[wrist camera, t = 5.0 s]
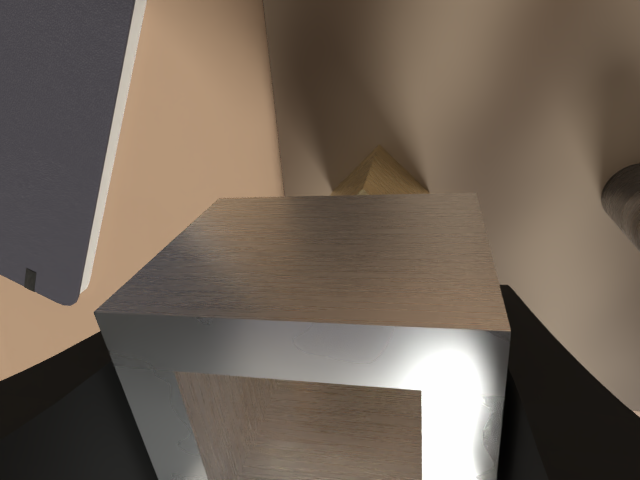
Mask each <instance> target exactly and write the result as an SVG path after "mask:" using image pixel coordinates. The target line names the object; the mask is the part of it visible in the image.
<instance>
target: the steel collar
mask: <svg viewBox="0 0 640 480" xmlns="http://www.w3.org/2000/svg"><path fill="white" fill-rule="evenodd" d="M94 315H95V317H96V320H97V323H98V325H99V328H100V330H101V333H102V335H103V338H104V341H105V343H106V346H107V348H108V351H109V354H110V356H111V359H112V361H113V364H114V366H115V369H116V372H117V374H118V377H119V379H120V382H121V384H122V387H123V390H124V392H125V395H126V397H127V400H128V403H129V405H130V408H131V410H132V413H133V415H134V418H135V421H136V423H137V426H138V428H139V431H140V433H141V436H142V439H143V441H144V444H145V446H146V449H147V452H148V454H149V457H150V459H151V462H152V464H153V467H154V470H155V472H156V475H157V477H158V480H496V478H497V468H498V458H499V448H500V438H501V428H502V418H503V408H504V398H505V388H506V378H507V368H508V358H509V348H510V338H511V329H510V325H509V321H508V317H507V313H506V309H505V305H504V301H503V297H502V293H501V289H500V285H499V281H498V277H497V273H496V269H495V266H494V262H493V258H492V254H491V250H490V246H489V242H488V238H487V234H486V230H485V226H484V222H483V218H482V214H481V210H480V206H479V202H478V198H477V194H476V193H433V194H387V195H340V196H294V197H248V198H219V199H218V200H217V201H216V202H214V203H213V204H212V205H211V206H210V207H209V208H208V209H207V210H206V211H205V212H203V213H202V214H201V215H200V216H199V217H198V218H197V219H196V220H195V221H194V222H192V223H191V224H190V225H189V226H188V227H187V228H186V229H185V230H184V231H183V232H181V233H180V234H179V235H178V236H177V237H176V238H175V239H174V240H173V241H172V242H170V243H169V244H168V245H167V246H166V247H165V248H164V249H163V250H162V251H161V252H159V253H158V254H157V255H156V256H155V257H154V258H153V259H152V260H151V261H150V262H148V263H147V264H146V265H145V266H144V267H143V268H142V269H141V270H140V271H139V272H137V273H136V274H135V275H134V276H133V277H132V278H131V279H130V280H129V281H128V282H126V283H125V284H124V285H123V286H122V287H121V288H120V289H119V290H118V291H117V292H115V293H114V294H113V295H112V296H111V297H110V298H109V299H108V300H107V301H106V302H104V303H103V304H102V305H101V306H100V307H99V308H98V309H97V310H96V311H95V312H94Z"/></svg>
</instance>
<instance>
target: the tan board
mask: <svg viewBox="0 0 640 480" xmlns="http://www.w3.org/2000/svg"><path fill="white" fill-rule="evenodd" d="M263 6H264V15H265V24H266V33H267V42H268V50H269V59H270V68H271V77H272V86H273V95H274V104H275V113H276V122H277V131H278V140H279V149H280V158H281V167H282V176H283V185H284V194H285V197H294V196H330V195H331V193H332V191H333V190H334V189H335V188H336V187H337V186H338V185H339V184H340V183H341V182H342V181H343V180H344V179H345V178H346V177H347V176H348V175H349V174H350V173H351V172H352V171H353V170H354V169H355V168H356V167H357V166H358V165H359V164H360V163H361V162H362V161H363V160H364V159H365V158H366V157H367V156H368V155H369V154H370V153H371V152H372V151H373V150H374V149H375V148H376V147H377V146H378V145H379V144H380V145H381V146H382V147H383V148H384V149H385V150H386V151H387V152H388V153H389V154H390V155H391V156H392V157H393V158H394V159H395V160H396V161H397V162H399V163H400V164H401V165H402V166H403V167H404V168H405V169H406V170H407V171H408V172H409V173H410V174H411V175H412V176H413V177H414V178H415V179H416V180H417V181H418V182H419V183H420V184H421V185H423V186H424V187H425V188H426V189H427V190H428V191H429V192H430V194H433V193H476V194H477V198H478V202H479V206H480V210H481V214H482V218H483V222H484V226H485V230H486V234H487V238H488V242H489V246H490V250H491V254H492V258H493V262H494V266H495V269H496V273H497V277H498V281H499V285H509V286H510V287H511V288H512V289H513V290H514V291H515V292H516V294H517V295H518V296H519V297H520V298H521V299H522V301H523V302H524V303H525V304H526V305H527V307H528V308H529V309H530V310H531V311H532V312H533V313H534V315H535V316H536V317H537V318H538V319H539V320H540V321H541V322H542V324H543V325H544V326H545V327H546V328H547V329H548V330H549V331H550V332H551V333H552V334H553V336H554V337H555V338H556V339H557V340H558V341H559V342H560V343H561V344H562V345H563V346H564V347H565V348H566V349H567V350H568V351H569V352H570V353H571V354H572V355H573V356H574V357H575V358H576V359H577V360H578V361H579V362H580V363H581V364H582V365H583V366H584V367H585V368H586V369H587V370H588V371H589V372H590V373H591V374H592V375H593V376H594V377H595V378H596V379H597V380H598V381H599V382H600V383H601V384H602V385H604V386H605V387H606V388H607V389H608V390H609V391H610V392H611V393H612V394H613V395H614V396H616V397H617V398H618V399H619V400H620V401H621V402H622V403H623V404H624V405H626V406H627V407H628V408H629V409H630V410H633V411H640V252H639V251H638V249H637V248H636V247H635V246H634V245H633V244H632V243H631V241H630V240H629V239H628V238H627V237H626V236H625V234H624V233H623V232H622V231H621V230H620V229H619V227H618V226H617V225H616V224H615V223H614V222H613V220H612V219H611V218H610V217H609V216H608V215H607V213H606V212H605V211H604V209H603V207H602V203H601V195H602V191H603V188H604V186H605V184H606V183H607V181H608V180H609V179H610V178H611V177H612V176H613V175H614V174H615V173H617V172H618V171H620V170H621V169H623V168H625V167H628V166H630V165H634V164H639V163H640V0H263Z"/></svg>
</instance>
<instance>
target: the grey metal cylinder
mask: <svg viewBox="0 0 640 480" xmlns="http://www.w3.org/2000/svg"><path fill="white" fill-rule="evenodd" d="M601 203H602V207H603V209H604V211H605V212H606V213H607V215H608V216H609V217H610V218H611V219H612V220H613V222H614V223H615V224H616V225H617V226H618V227H619V229H620V230H621V231H622V232H623V233H624V234H625V236H626V237H627V238H628V239H629V240H630V241H631V243H632V244H633V245H634V246H635V247H636V248H637V249H638V251H639V252H640V163H639V164H634V165H630V166H628V167H625V168H623V169H621V170H620V171H618V172H617V173H615V174H614V175H613V176H612V177H611V178H610V179H609V180H608V181H607V183H606V184H605V186H604V188H603V191H602V195H601Z"/></svg>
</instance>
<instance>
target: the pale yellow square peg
mask: <svg viewBox="0 0 640 480" xmlns="http://www.w3.org/2000/svg"><path fill="white" fill-rule="evenodd" d="M387 194H430V192H429V191H428V190H427V189H426V188H425V187H424V186H423V185H421V184H420V183H419V182H418V181H417V180H416V179H415V178H414V177H413V176H412V175H411V174H410V173H409V172H408V171H407V170H406V169H405V168H404V167H403V166H402V165H401V164H400V163H399V162H397V161H396V160H395V159H394V158H393V157H392V156H391V155H390V154H389V153H388V152H387V151H386V150H385V149H384V148H383V147H382V146H381V145H380V144H379V145H378V146H377V147H376V148H375V149H374V150H373V151H372V152H371V153H370V154H369V155H368V156H367V157H366V158H365V159H364V160H363V161H362V162H361V163H360V164H359V165H358V166H357V167H356V168H355V169H354V170H353V171H352V172H351V173H350V174H349V175H348V176H347V177H346V178H345V179H344V180H343V181H342V182H341V183H340V184H339V185H338V186H337V187H336V188H335V189H334V190H333V191H332V193H331V195H330V196H340V195H387Z"/></svg>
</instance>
